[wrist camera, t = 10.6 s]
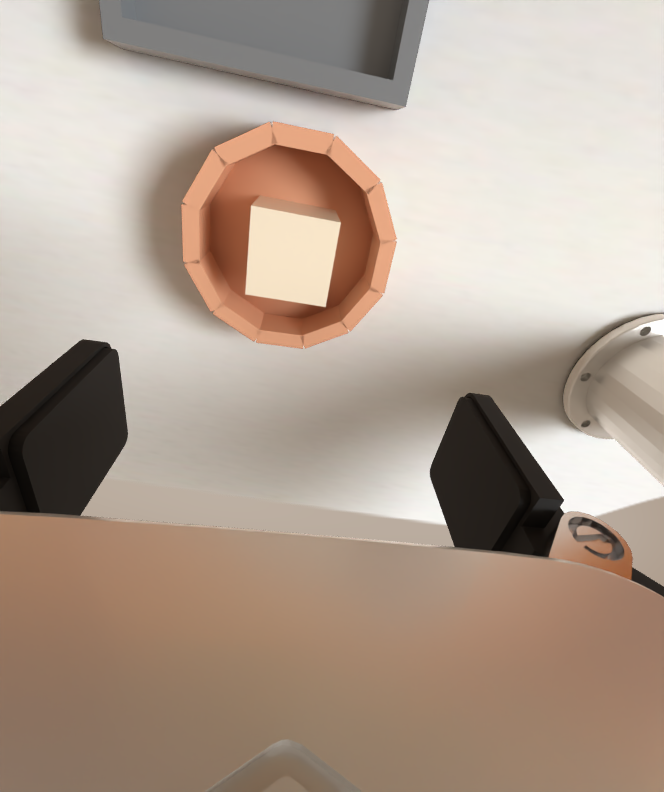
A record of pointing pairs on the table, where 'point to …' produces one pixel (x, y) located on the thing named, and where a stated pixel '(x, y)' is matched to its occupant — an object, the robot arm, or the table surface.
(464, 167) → the table surface
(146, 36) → the parts tray
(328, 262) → the cream beige cube
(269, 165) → the bowl
